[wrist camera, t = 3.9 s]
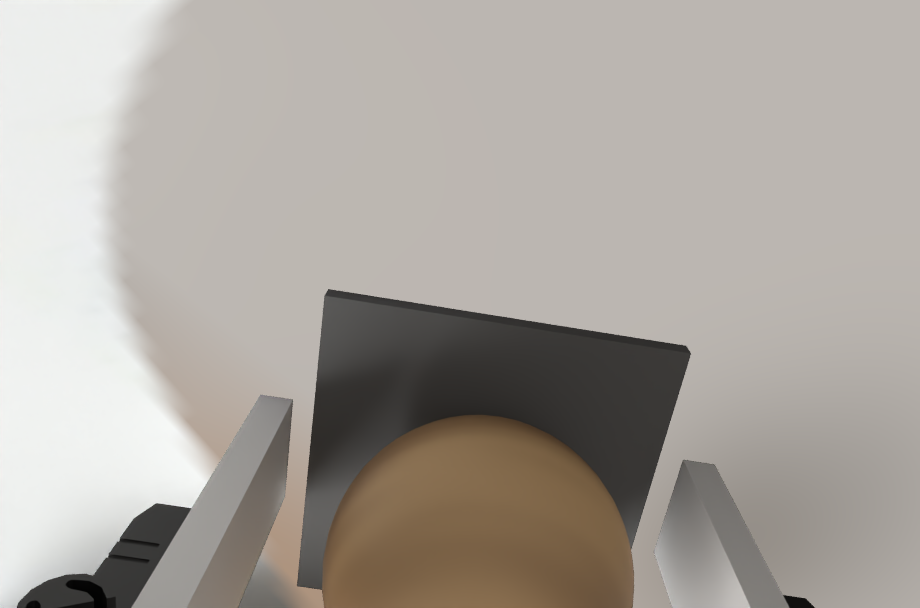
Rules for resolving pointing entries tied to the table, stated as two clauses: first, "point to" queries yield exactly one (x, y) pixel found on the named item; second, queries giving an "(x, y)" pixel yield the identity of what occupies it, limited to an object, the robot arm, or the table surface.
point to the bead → (477, 524)
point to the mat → (480, 395)
